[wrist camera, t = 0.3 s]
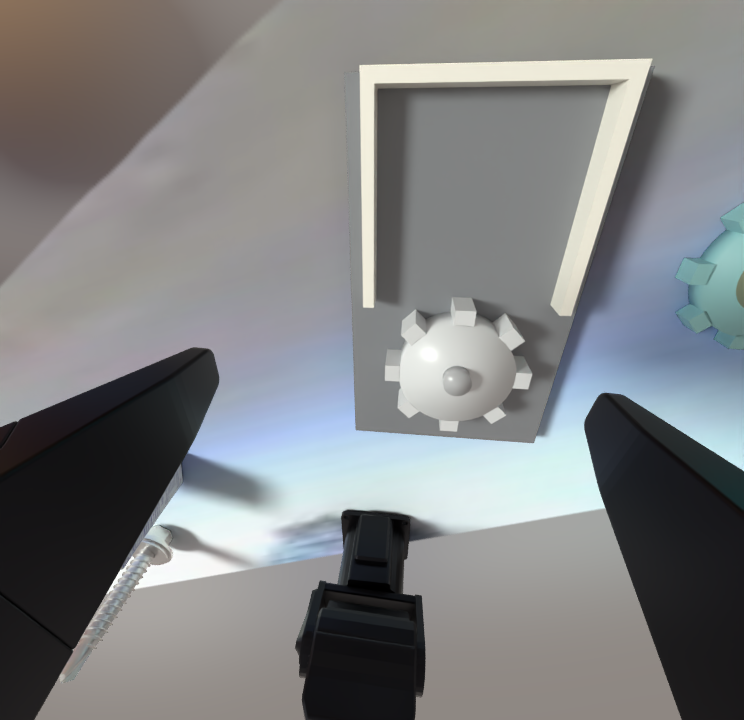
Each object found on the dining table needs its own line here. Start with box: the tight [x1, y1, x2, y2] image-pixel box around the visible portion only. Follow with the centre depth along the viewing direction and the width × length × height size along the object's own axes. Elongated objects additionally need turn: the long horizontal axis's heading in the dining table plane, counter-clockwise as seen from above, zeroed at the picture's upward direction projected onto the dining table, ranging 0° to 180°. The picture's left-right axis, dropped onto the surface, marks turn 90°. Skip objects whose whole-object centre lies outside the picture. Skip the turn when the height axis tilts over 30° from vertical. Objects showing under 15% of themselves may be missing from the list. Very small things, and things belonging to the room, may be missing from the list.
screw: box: [59, 526, 173, 683], centre depth 34 cm, size 13×5×5 cm
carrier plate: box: [344, 59, 655, 443], centre depth 20 cm, size 21×13×4 cm, turn 0°
